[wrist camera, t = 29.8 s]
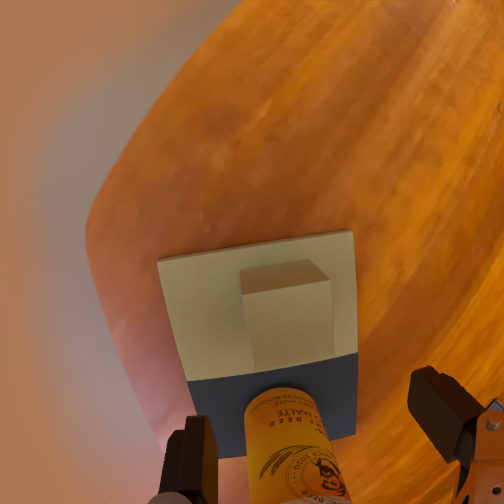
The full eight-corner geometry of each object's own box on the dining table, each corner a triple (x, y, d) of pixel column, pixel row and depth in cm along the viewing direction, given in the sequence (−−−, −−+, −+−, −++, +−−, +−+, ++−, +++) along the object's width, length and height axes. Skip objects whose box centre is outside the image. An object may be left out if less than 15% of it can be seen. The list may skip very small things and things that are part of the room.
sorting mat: (213, 452, 27) (212, 459, 26) (159, 258, 23) (156, 261, 22) (352, 428, 27) (355, 434, 26) (348, 228, 23) (353, 231, 22)
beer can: (327, 395, 25) (389, 538, 10) (289, 440, 26) (321, 577, 11) (267, 372, 24) (300, 539, 9) (231, 421, 25) (236, 574, 10)
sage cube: (249, 334, 23) (254, 371, 18) (239, 270, 22) (241, 294, 17) (315, 322, 23) (335, 355, 19) (309, 258, 22) (330, 279, 17)
